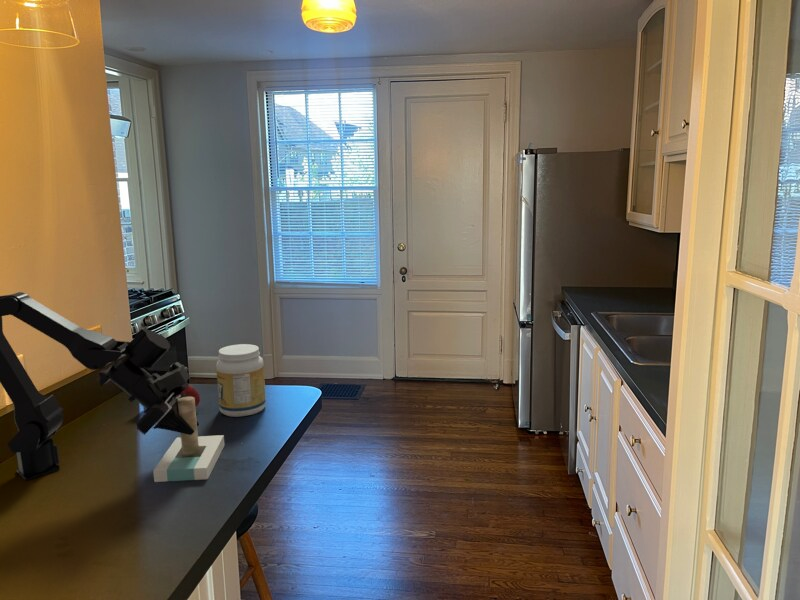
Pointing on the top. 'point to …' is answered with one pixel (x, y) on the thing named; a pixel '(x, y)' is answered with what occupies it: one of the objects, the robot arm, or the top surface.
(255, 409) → the supplement tub
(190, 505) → the top surface
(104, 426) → the top surface
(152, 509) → the top surface
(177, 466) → the socket plate
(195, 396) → the onion
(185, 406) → the birch peg
